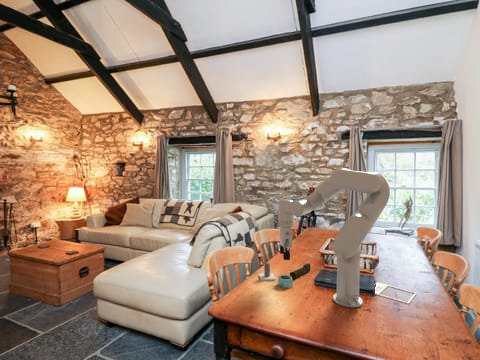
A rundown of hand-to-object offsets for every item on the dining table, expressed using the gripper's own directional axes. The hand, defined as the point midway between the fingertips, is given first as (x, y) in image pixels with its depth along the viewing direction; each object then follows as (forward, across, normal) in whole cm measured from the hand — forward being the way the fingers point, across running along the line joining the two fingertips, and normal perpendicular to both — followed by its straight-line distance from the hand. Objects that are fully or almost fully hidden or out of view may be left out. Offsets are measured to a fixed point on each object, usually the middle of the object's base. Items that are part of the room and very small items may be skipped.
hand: (284, 256), depth 146 cm
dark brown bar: (+15, +15, -12) cm, 25 cm away
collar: (+15, 0, 0) cm, 15 cm away
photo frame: (+15, -10, -50) cm, 54 cm away
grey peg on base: (+15, +10, +8) cm, 19 cm away
